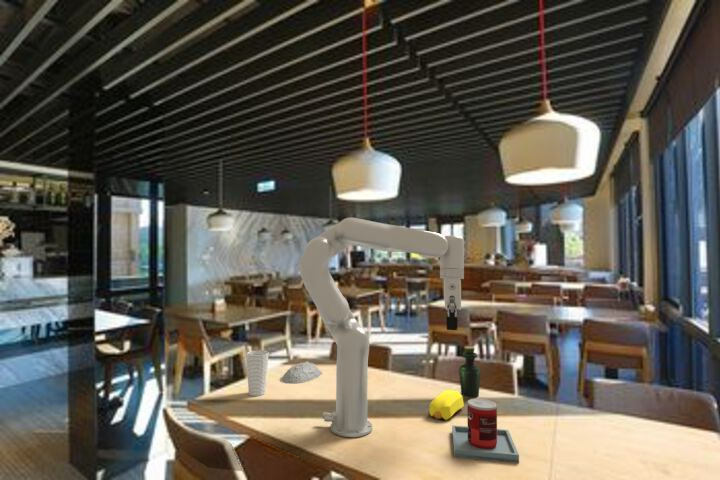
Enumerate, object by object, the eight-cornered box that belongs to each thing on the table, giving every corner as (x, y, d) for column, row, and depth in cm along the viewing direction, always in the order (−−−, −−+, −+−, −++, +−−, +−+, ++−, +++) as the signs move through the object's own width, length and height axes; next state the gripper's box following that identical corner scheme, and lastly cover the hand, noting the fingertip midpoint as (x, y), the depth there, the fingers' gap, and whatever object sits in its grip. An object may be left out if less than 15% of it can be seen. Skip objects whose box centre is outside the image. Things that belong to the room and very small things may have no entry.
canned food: (474, 434, 120) (474, 396, 120) (501, 442, 115) (501, 402, 115) (462, 443, 114) (462, 403, 114) (490, 452, 109) (490, 410, 109)
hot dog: (466, 407, 145) (446, 403, 149) (466, 388, 145) (446, 384, 149) (447, 424, 130) (425, 419, 134) (447, 403, 130) (425, 398, 134)
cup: (265, 397, 153) (266, 355, 154) (242, 397, 153) (243, 355, 154) (270, 390, 161) (271, 350, 162) (249, 390, 161) (249, 350, 162)
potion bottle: (477, 391, 162) (477, 345, 163) (483, 398, 154) (483, 349, 155) (457, 391, 162) (456, 345, 163) (461, 398, 154) (461, 349, 155)
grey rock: (329, 370, 191) (327, 355, 191) (305, 388, 168) (303, 372, 168) (299, 370, 196) (298, 356, 197) (271, 388, 173) (270, 372, 173)
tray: (454, 457, 108) (454, 449, 108) (452, 432, 123) (452, 425, 124) (519, 463, 105) (518, 455, 105) (508, 436, 120) (508, 429, 121)
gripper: (465, 275, 124) (465, 332, 123) (462, 273, 141) (462, 324, 140) (439, 274, 125) (439, 331, 124) (440, 273, 142) (440, 323, 141)
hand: (451, 327), depth 132 cm, fingers open, 9 cm apart
